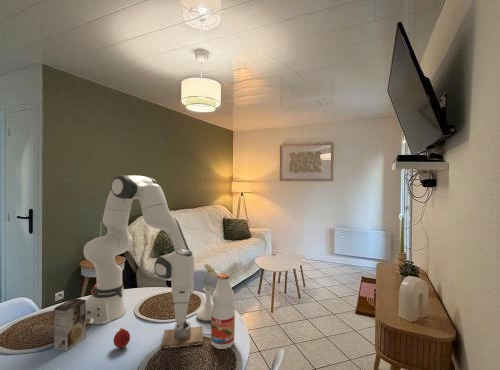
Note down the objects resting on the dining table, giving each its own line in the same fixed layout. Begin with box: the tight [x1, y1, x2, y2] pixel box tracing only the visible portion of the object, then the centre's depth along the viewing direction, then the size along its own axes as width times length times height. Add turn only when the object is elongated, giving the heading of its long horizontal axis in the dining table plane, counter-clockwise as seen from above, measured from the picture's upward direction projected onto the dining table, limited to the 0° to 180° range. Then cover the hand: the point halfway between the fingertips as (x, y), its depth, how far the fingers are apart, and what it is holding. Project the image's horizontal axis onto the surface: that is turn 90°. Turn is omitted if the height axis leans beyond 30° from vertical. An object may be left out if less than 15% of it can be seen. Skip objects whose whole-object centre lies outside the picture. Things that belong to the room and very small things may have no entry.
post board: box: [160, 320, 204, 349], centre depth 110 cm, size 16×11×9 cm
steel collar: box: [173, 321, 192, 340], centre depth 110 cm, size 6×6×4 cm
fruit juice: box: [210, 272, 236, 350], centre depth 108 cm, size 9×9×28 cm
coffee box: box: [53, 297, 87, 352], centre depth 106 cm, size 9×6×16 cm
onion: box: [113, 327, 131, 349], centre depth 104 cm, size 6×6×8 cm
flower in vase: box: [195, 263, 217, 322], centre depth 129 cm, size 13×11×25 cm
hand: (181, 322), depth 110 cm, fingers open, 8 cm apart
